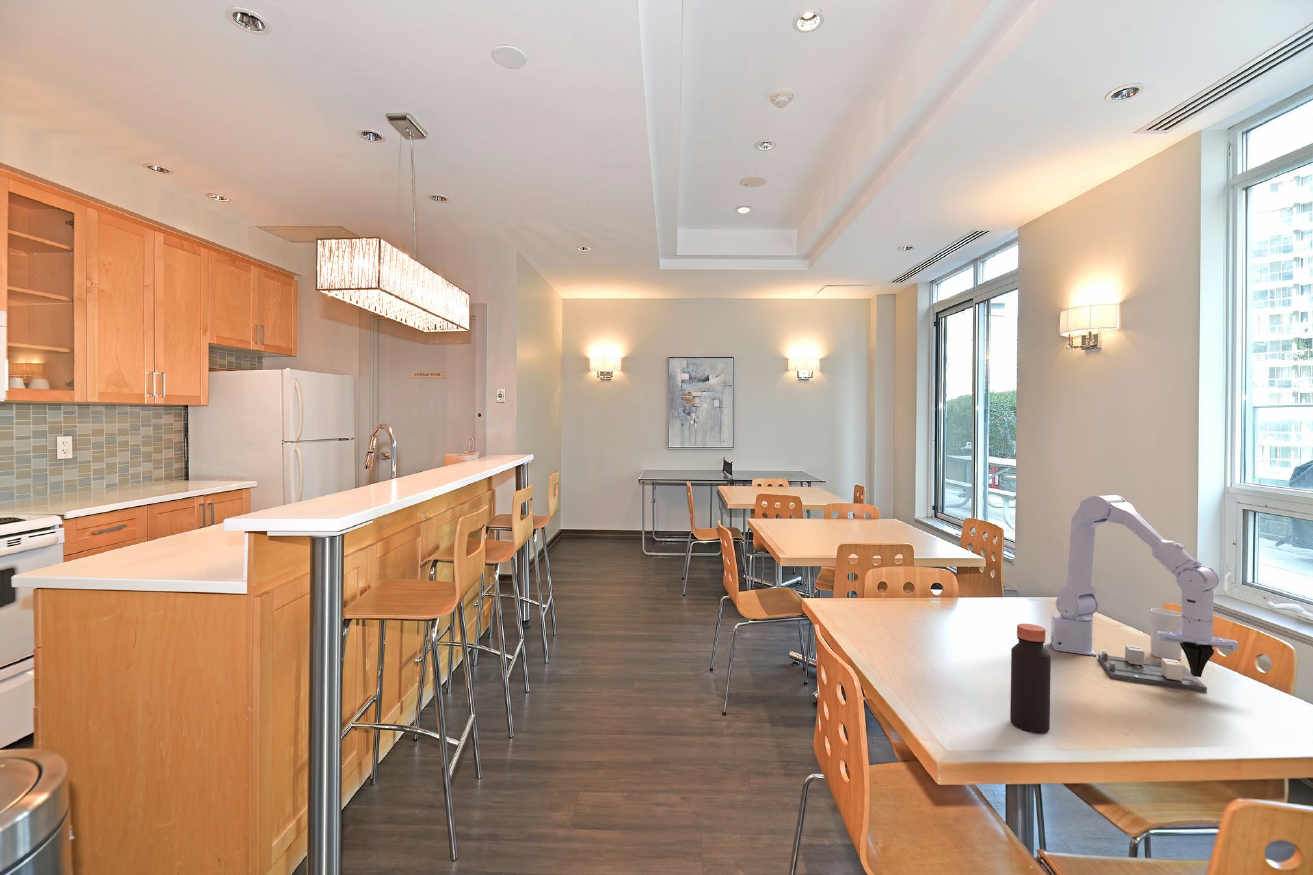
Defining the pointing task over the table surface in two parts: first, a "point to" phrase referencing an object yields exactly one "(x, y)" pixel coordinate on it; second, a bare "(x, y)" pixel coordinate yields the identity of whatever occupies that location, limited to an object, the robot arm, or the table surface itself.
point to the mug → (1166, 623)
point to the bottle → (1030, 680)
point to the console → (1147, 673)
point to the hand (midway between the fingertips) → (1195, 675)
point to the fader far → (1134, 654)
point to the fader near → (1172, 669)
